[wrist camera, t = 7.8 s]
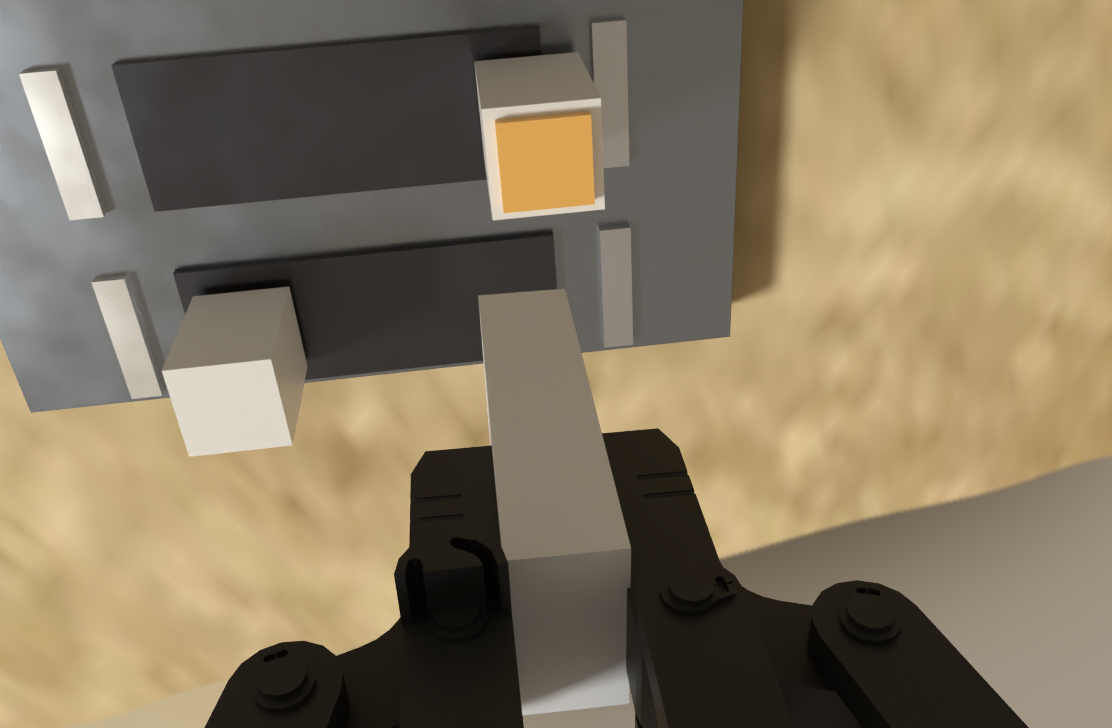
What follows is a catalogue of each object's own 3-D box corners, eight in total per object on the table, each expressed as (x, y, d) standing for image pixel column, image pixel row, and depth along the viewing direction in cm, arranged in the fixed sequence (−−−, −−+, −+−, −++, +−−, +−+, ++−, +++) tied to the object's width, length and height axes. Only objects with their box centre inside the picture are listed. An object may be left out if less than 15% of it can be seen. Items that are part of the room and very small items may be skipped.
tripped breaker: (474, 61, 28) (481, 113, 24) (578, 52, 29) (602, 101, 25) (484, 161, 30) (493, 224, 26) (583, 151, 30) (606, 213, 26)
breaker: (192, 296, 31) (161, 370, 28) (289, 286, 32) (270, 359, 28) (215, 376, 33) (189, 456, 29) (307, 366, 33) (292, 445, 29)
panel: (-182, -203, 26) (-232, -199, 24) (733, -268, 27) (757, -269, 25) (49, 380, 35) (27, 418, 33) (716, 309, 37) (732, 341, 35)
